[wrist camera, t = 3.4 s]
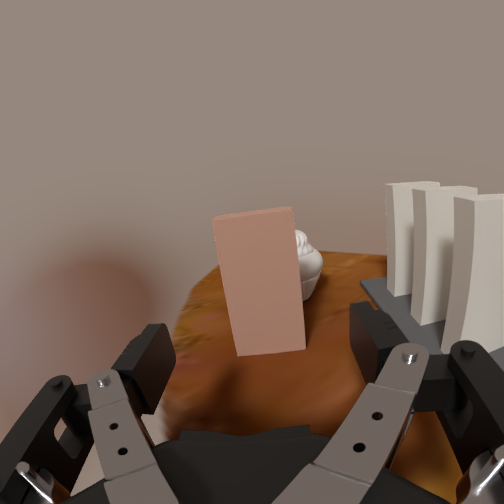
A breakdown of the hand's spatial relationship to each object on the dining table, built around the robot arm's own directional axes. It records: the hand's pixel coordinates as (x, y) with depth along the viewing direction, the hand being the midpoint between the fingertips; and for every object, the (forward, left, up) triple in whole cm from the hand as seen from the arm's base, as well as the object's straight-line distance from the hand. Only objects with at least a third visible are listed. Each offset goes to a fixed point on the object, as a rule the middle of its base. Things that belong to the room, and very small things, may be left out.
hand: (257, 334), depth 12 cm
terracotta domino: (+4, -7, -6) cm, 10 cm away
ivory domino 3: (-11, -9, -6) cm, 15 cm away
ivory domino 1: (-5, -18, -6) cm, 20 cm away
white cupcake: (+6, -15, -6) cm, 18 cm away
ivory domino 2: (-8, -14, -6) cm, 17 cm away
